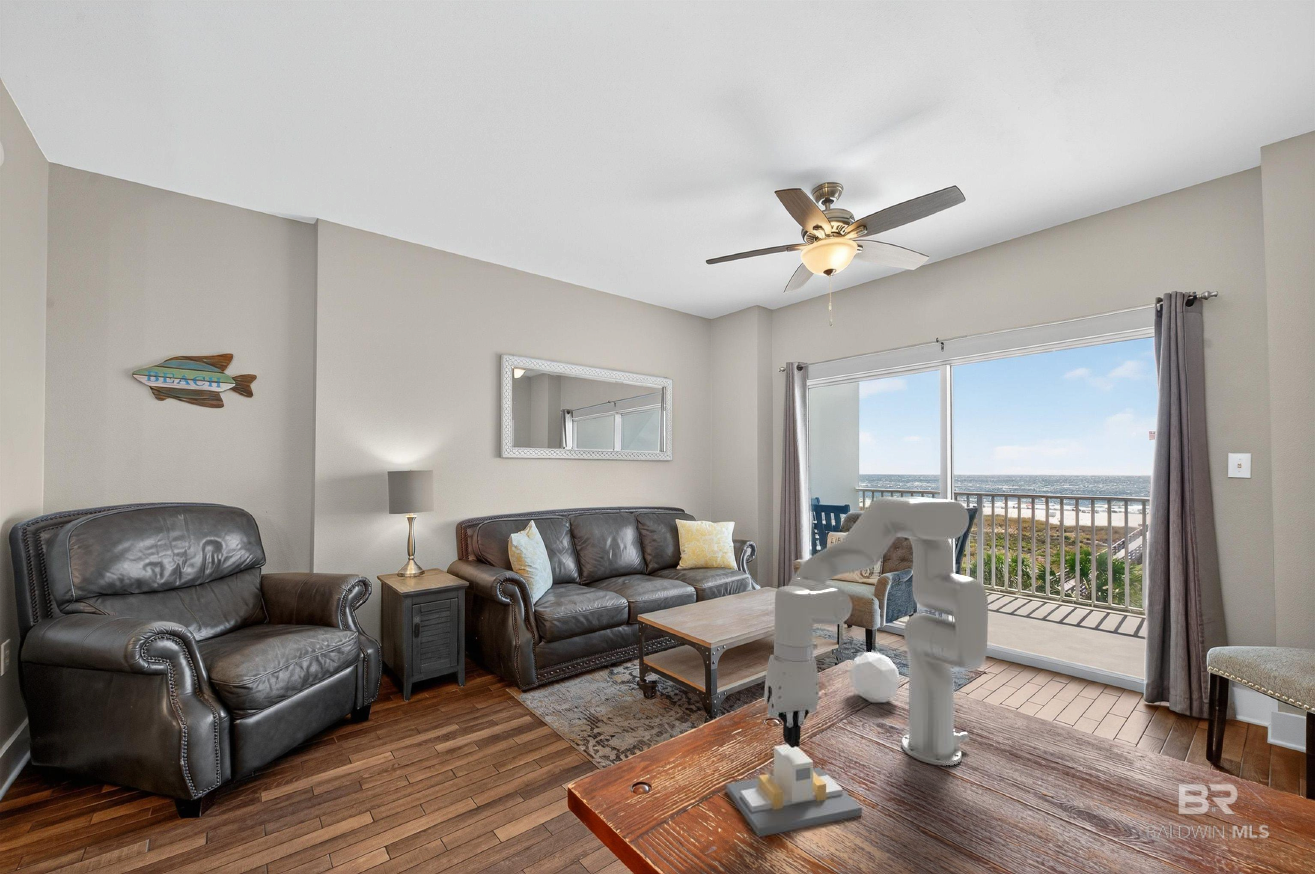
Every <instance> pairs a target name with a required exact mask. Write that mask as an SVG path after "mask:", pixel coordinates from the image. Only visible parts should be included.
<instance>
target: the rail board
mask: <svg viewBox="0 0 1315 874" xmlns="http://www.w3.org/2000/svg"><path fill="white" fill-rule="evenodd" d="M725 785H726V786H725V789H726V790H725V791H726V793H727V795H728V796H729V798H730V799H731V800H732V801H733V802H734V805H736V807H737V809H738V810H739V811H740V813H741V814H742V815H743V817H744V819H745V820H746V821H747V822H748V825H750V827H751V828H752V830H753V831H754V832H755V834H756V836H757V837H758V838H761V837H765V836H766V837H767V836H770V835H775V834H779V833H785V832H790V831H795V830H798V829H804V828H807V827H808V828H809V827H813V826H817V825H822V824H823V825H824V824H827V823H832V822H838V821H843V820H846V819H851V818H856V817H860V816H863V810H862V809H863V807H862V806H861V805H860V804H858V802H857V801H856V800H855V799H853V797H851V796H850V795H849V794H848V793H847V792H846V791H845V790H844V789H843V788H842V787H841V786H840V785H839V784H838V783H837V782H836V781H835V780H834V779H832V777H831V776H829V775H828V774H827V773H826V772H825V771H824V770H823V769H822V768H821V767H815V768H814V767H813V799H807V800H802V801H797V802H791V801H790V799H789V798H788V797H787V796H786V795H785V794H784V793H783V791H782V790H781V789H780V788H779V787H778V786H777V784H776V783H775V782H774V774H773V775H769V774H768V773H767V774H760V775H758V777H756V778H750V779H746V780H745V779H744V780H741V781H740V780H738V781H734V782H728V783H726V784H725Z"/></svg>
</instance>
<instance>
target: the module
mask: <svg viewBox="0 0 1315 874" xmlns="http://www.w3.org/2000/svg"><path fill="white" fill-rule="evenodd" d="M813 768H814V761H813V759H811V758H810V757H809V756H808V754H806V753H805V752H804V751H803V750H802V749H801V748H800V747H796V746H795V747H794V748H791V747H790V746H789V745H788V744H787V743H786V744H782V745H775V746H774V747H773V775H774V782H775V783H776V784H777V786H778V787H779V788H780V789H781V790H782V791H783V793H784V794H785V795H786V796H787V797H788V798H789V799H790V801H791V802H797V801H802V800H807V799H813Z"/></svg>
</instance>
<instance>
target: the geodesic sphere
mask: <svg viewBox="0 0 1315 874" xmlns="http://www.w3.org/2000/svg"><path fill="white" fill-rule="evenodd" d="M849 673H850V675H849V676H850V683H851V686H852V687H853V688H854V690H855V691H856V692H857V694H858V695H859V696H861V697H862V698H864V699H865V700H867V701H868V702H870V703H886V702H889V700H891V699H893V698H894V697H896V696H897V693H898V690H899V687H900V684H901V682H900V681H901V680H900V675H899V673H900V672H899V669H898V668H897V666H896V665H895V664H894V663H893V661H892V659H891V658H890V657H888V656H886V655H884V654H883V653H880V652H878V651H876V650H873V649H871V652H870V651H869V652H868V651H865V652H864V651H859V652H857V653H856V657H854V659H853V661H852V664H851V667H850V669H849Z"/></svg>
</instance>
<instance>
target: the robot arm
mask: <svg viewBox="0 0 1315 874" xmlns="http://www.w3.org/2000/svg"><path fill="white" fill-rule="evenodd" d="M969 524H970V516H969V513H968V510H967V509H966V507H965V506H964V505H963V504H962V503H960V502H959V501H957V500H955V499H954V500H953V499H943V498H930V497H922V496H903V497H893V496H883V497H882V496H881V497H878V498H876V499H874V500H873V501H871V502H870V503H869V505H868V506H867V507H866V508H865V510H864V512H863V513H862V514H861V515H860V516H859V518H858V519H857V520H856V522H855V523H854V524H853V526H852V527H851V528H850V530H849V531H848V532H847V533H846V534H845V536H844V537H843V538H842V539H841V540H840V541H838V542H836V543H834V544H832V545H830V546H828V547H826V548H824V549H823V550H821V551H819V552H817V553H815V554H814V555H812V556H810V558H808V559H807V560H806V561H805V562H803V564H802V565H801V566H800V567H799V569H798V570H796V571H797V572H795V574H794V575H793V577H792V578H791V580H790V581H789V583H788V585H786V586H785V585H784V586H780V587H778V588H777V589H776V591H775V592H774V593H775V597H774V629H773V630H774V635H773V636H774V637H773V638H774V640H773V641H774V642H773V645H774V646H773V654H770V656H769V659H768V663H767V668H766V674H765V682H764V695H763V697H764V702H765V703H766V704H768V705H767V710H766V714H767V715H768V716H769V717H771V718H774V719H780V721H781V722H782V738H783V741H784V742H785V743H786V744H788V745H789V746H790V747H791V748H794V747H795V746H796V747H798V748H800V745H801V744H800V740H801V728H802V726H803V725H804V722H805V720H806V718H807V717H808V716H809V715H811V714H813V713H816V712H817V710H818V704H819V699H820V698H819V697H820V693H819V691H820V689H819V688H820V687H819V676H818V675H819V674H818V667H817V662H816V659H815V657H814V651H815V650H817V649H818V643H817V642H814V637H813V636H814V626H815V625H823V626H825V625H828V626H834V625H839V624H842V623H844V622H845V621H846V620H847V619H849V617H850V616H851V613H852V611H853V603H852V599H851V598H850V596H849V594H847V592H845V591H844V590H842V589H841V588H839V587H836V586H833V585H830V584H826V583H827V582H828V581H831V580H832V579H834V578H835V577H838V576H841V575H845V574H848V573H855V572H860V571H865V570H868V569H872V568H874V567H876V566H877V565H878V563H880V561H881V559H882V558H883V557H884V555H885V553H886V552H887V551H888V549H889V548H890V547H891V545H892V544H893V543H894V542H895V540H896V538H899V537H900V538H908V539H909V542H910V544H911V548H912V552H913V553H912V562H913V563H912V597H913V600H914V602H915V603H916V604H917V605H918V606H920V607H922V608H924V609H927V610H929V611H934V612H936V613H940V614H943V615H947V616H950V617H953V619H954V621H953V620H950V619H946V618H944V617H940V616H936V615H934V614H930V613H915V614H913V615H911V616H910V617H908V619H907V620H906V622H905V624H904V629H903V630H904V632H903V634H904V641H905V645H906V651H907V658H908V733H907V734H906V735H904V736H903V737H902V738H901V747H902V749H903V750H904V751H905V753H907V754H908V755H909V756H911V757H912V758H914V759H915V760H919V761H921V762H924V763H927V764H929V765H934V766H941V765H942V767H943V766H944V767H945V766H946V765H947V766H946V767H949V766H948V765H950V766H955V765H958V764H959V763H960V762H961V761H962V757H963V755H962V751H961V750H960V749H959V747H958V745H959V744H960V743H964V742H968V741H970V735H969V734H968V732H967V731H962V732H958V733H957V732H956V730H955V721H954V719H955V709H954V708H955V702H954V701H955V696H954V693H955V681H954V676H953V675H954V674H953V671H952V669H951V666H952V667H956V668H959V669H962V670H965V671H970V672H971V671H972V672H973V671H976V670H979V669H980V668H981V667H982V666H983V665H984V663H985V661H986V658H987V653H988V628H989V627H988V626H989V625H988V624H989V623H988V622H989V618H988V617H989V599H988V594H987V592H986V589H985V587H984V586H983V584H982V583H981V582H980V581H978V580H977V579H976V578H973V577H970V576H968V575H964V574H963V575H962V574H958V573H955V571H954V553H953V548H952V545H951V542H950V541H949V540H953V539H957V538H959V537H961V536H962V535H963V534H965V532H966V531H967V529H968V527H969ZM950 665H951V666H950ZM958 762H959V763H958ZM954 764H955V765H954Z"/></svg>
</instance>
